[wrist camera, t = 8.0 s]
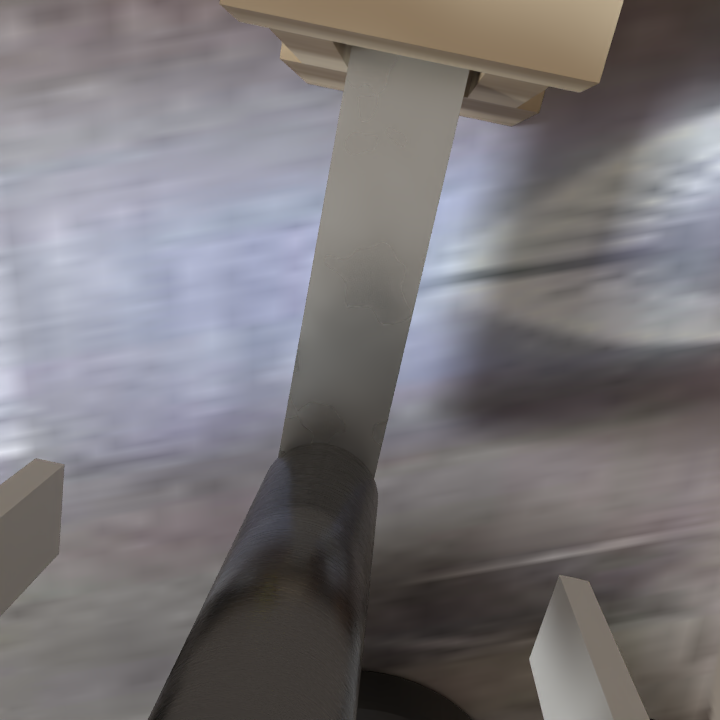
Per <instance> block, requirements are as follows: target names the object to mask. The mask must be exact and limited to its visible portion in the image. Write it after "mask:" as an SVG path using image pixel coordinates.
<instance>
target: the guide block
mask: <svg viewBox="0 0 720 720" xmlns="http://www.w3.org/2000/svg"><path fill="white" fill-rule="evenodd" d="M623 1H624V0H220V5H221V6H222V7H223V8H225V9H226V10H227V11H228V12H229V13H230V14H231V15H232V16H233V17H234V18H236V19H237V20H238V21H239V22H243V23H248V24H253V25H258V26H262V27H267V28H269V29H270V30H271V31H272V32H273V33H274V34H275V35H276V36H277V37H278V38H279V39H280V40H281V41H282V47H281V54H280V59H281V60H282V61H283V62H284V63H285V64H286V65H288V66H289V67H290V68H291V69H292V70H293V71H294V72H295V73H296V74H297V75H299V76H300V77H301V78H302V79H303V80H304V81H305V82H306V83H307V84H312V85H317V86H321V87H326V88H331V89H336V90H340V91H344V86H345V81H346V75H347V69H348V64H349V58H350V53H351V47H352V45H353V46H358V47H363V48H368V49H373V50H377V51H382V52H387V53H392V54H397V55H401V56H406V57H411V58H416V59H420V60H425V61H430V62H435V63H440V64H444V65H449V66H454V67H459V68H464V69H468V70H470V71H469V75H468V79H467V83H466V88H465V92H464V96H463V100H462V105H461V109H460V113H459V116H464V117H469V118H474V119H478V120H483V121H488V122H493V123H497V124H502V125H507V126H514V125H516V124H518V123H520V122H522V121H524V120H526V119H528V118H530V117H532V116H534V115H536V114H538V113H539V111H540V108H541V104H542V100H543V97H544V93H545V89H547V88H548V87H554V88H559V89H564V90H569V91H574V92H578V93H580V92H582V91H584V90H586V89H588V88H590V87H593V86H595V85H597V84H599V82H600V79H601V76H602V72H603V69H604V65H605V62H606V59H607V55H608V52H609V48H610V45H611V42H612V38H613V35H614V32H615V28H616V25H617V21H618V18H619V15H620V11H621V8H622V4H623Z"/></svg>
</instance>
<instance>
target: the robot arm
mask: <svg viewBox="0 0 720 720" xmlns="http://www.w3.org/2000/svg"><path fill="white" fill-rule="evenodd" d="M63 478H64V464H59V463H55V462H50V461H46V460H41V459H37V458H36V459H34V460H33V461H32V462H30V463H29V464H28V465H26V466H25V467H24V468H22V469H21V470H20V471H18V472H17V473H16V474H14V475H13V476H12V477H10V478H9V479H8V480H6V481H5V482H4V483H2V484H1V485H0V616H1V615H2V614H3V613H4V612H5V611H6V610H7V609H8V608H9V606H10V605H11V604H12V603H13V602H14V601H15V600H16V599H17V598H18V597H19V596H20V595H21V594H22V593H23V591H24V590H25V589H26V588H27V587H28V586H29V585H30V584H31V583H32V582H33V581H34V580H35V579H36V578H37V576H38V575H39V574H40V573H41V572H42V571H43V570H44V569H45V568H46V567H47V566H48V565H49V564H50V563H51V561H52V560H53V559H54V558H55V557H56V556H57V555H58V554H59V544H60V528H61V511H62V495H63ZM529 660H530V665H531V669H532V673H533V677H534V681H535V685H536V689H537V693H538V697H539V701H540V705H541V709H542V713H543V717H544V720H654V719H649V717H648V714H647V712H646V710H645V708H644V705H643V703H642V701H641V699H640V696H639V694H638V692H637V690H636V687H635V685H634V683H633V680H632V678H631V676H630V674H629V671H628V669H627V667H626V665H625V662H624V660H623V658H622V656H621V653H620V651H619V649H618V647H617V644H616V642H615V640H614V637H613V635H612V633H611V631H610V628H609V626H608V624H607V622H606V619H605V617H604V615H603V613H602V610H601V608H600V606H599V604H598V601H597V599H596V597H595V594H594V592H593V590H592V588H591V585H590V583H589V581H586V580H581V579H577V578H572V577H568V576H563V575H559V577H558V580H557V583H556V585H555V588H554V591H553V594H552V597H551V599H550V602H549V605H548V608H547V611H546V613H545V616H544V619H543V622H542V625H541V627H540V630H539V633H538V636H537V639H536V641H535V644H534V647H533V650H532V653H531V655H530V658H529ZM356 720H471V719H470V718H469V717H468V716H467V715H466V714H465V713H464V712H463V711H462V710H461V709H459V708H458V707H457V706H456V705H454V704H453V703H452V702H450V701H449V700H447V699H446V698H444V697H442V696H441V695H439V694H437V693H436V692H434V691H432V690H430V689H428V688H426V687H423V686H421V685H419V684H416V683H414V682H411V681H408V680H405V679H402V678H398V677H394V676H391V675H386V674H381V673H374V672H365V671H361V677H360V687H359V697H358V707H357V717H356Z"/></svg>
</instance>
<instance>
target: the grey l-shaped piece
mask: <svg viewBox="0 0 720 720" xmlns="http://www.w3.org/2000/svg"><path fill="white" fill-rule="evenodd" d="M469 71H470V70H468V69H464V68H459V67H454V66H449V65H444V64H440V63H435V62H430V61H425V60H420V59H416V58H411V57H406V56H401V55H397V54H392V53H387V52H382V51H377V50H373V49H368V48H363V47H358V46H353V45H352V47H351V53H350V58H349V64H348V69H347V75H346V81H345V86H344V92H343V97H342V103H341V109H340V114H339V120H338V125H337V131H336V137H335V142H334V148H333V153H332V159H331V165H330V170H329V176H328V181H327V187H326V193H325V198H324V204H323V209H322V215H321V221H320V226H319V232H318V238H317V243H316V249H315V254H314V260H313V266H312V271H311V277H310V282H309V288H308V294H307V299H306V305H305V310H304V316H303V322H302V327H301V333H300V338H299V344H298V350H297V355H296V361H295V366H294V372H293V378H292V383H291V389H290V394H289V400H288V406H287V411H286V417H285V422H284V428H283V434H282V439H281V445H280V450H279V456H278V458H277V459H276V460H275V462H274V463H273V464H272V465H271V467H270V469H269V470H268V472H267V474H266V476H265V478H264V480H263V482H262V485H261V487H260V489H259V491H258V493H257V495H256V497H255V499H254V501H253V503H252V505H251V507H250V509H249V511H248V514H247V516H246V518H245V520H244V522H243V524H242V526H241V528H240V530H239V532H238V534H237V536H236V538H235V540H234V542H233V545H232V547H231V549H230V551H229V553H228V555H227V557H226V559H225V561H224V563H223V565H222V567H221V569H220V571H219V574H218V576H217V578H216V580H215V582H214V584H213V586H212V588H211V590H210V592H209V594H208V596H207V598H206V600H205V602H204V605H203V607H202V609H201V611H200V613H199V615H198V617H197V619H196V621H195V623H194V625H193V627H192V629H191V631H190V634H189V636H188V638H187V640H186V642H185V644H184V646H183V648H182V650H181V652H180V654H179V656H178V658H177V660H176V662H175V665H174V667H173V669H172V671H171V673H170V675H169V677H168V679H167V681H166V683H165V685H164V687H163V689H162V691H161V694H160V696H159V698H158V700H157V702H156V704H155V706H154V708H153V710H152V712H151V714H150V716H149V718H148V720H356V717H357V707H358V697H359V687H360V677H361V667H362V657H363V647H364V636H365V626H366V616H367V606H368V596H369V586H370V576H371V566H372V556H373V546H374V536H375V526H376V516H377V506H378V492H377V487H376V483H375V480H374V476H375V472H376V468H377V463H378V459H379V455H380V451H381V446H382V442H383V438H384V434H385V429H386V425H387V421H388V417H389V412H390V408H391V404H392V399H393V395H394V391H395V387H396V382H397V378H398V374H399V370H400V365H401V361H402V357H403V352H404V348H405V344H406V340H407V335H408V331H409V327H410V323H411V318H412V314H413V310H414V305H415V301H416V297H417V293H418V288H419V284H420V280H421V276H422V271H423V267H424V263H425V259H426V254H427V250H428V246H429V241H430V237H431V233H432V229H433V224H434V220H435V216H436V212H437V207H438V203H439V199H440V194H441V190H442V186H443V182H444V177H445V173H446V169H447V165H448V160H449V156H450V152H451V147H452V143H453V139H454V135H455V130H456V126H457V122H458V118H459V113H460V109H461V105H462V100H463V96H464V92H465V88H466V83H467V79H468V75H469Z"/></svg>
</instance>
